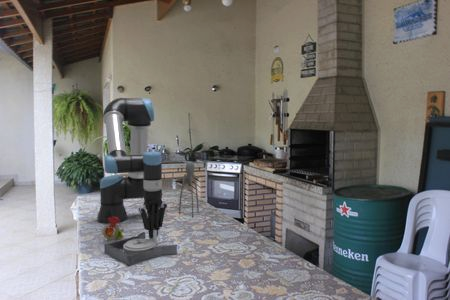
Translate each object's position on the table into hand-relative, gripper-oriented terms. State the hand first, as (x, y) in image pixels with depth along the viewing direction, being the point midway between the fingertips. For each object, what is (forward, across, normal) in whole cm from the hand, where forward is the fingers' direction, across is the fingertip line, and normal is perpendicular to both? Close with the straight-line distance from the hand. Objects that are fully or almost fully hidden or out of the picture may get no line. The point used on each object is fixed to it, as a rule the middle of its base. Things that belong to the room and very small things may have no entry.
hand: (153, 244), depth 158 cm
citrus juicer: (+2, +44, +31) cm, 54 cm away
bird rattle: (+2, -7, +21) cm, 22 cm away
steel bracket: (+1, -7, 0) cm, 7 cm away
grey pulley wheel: (+2, -7, 0) cm, 7 cm away
